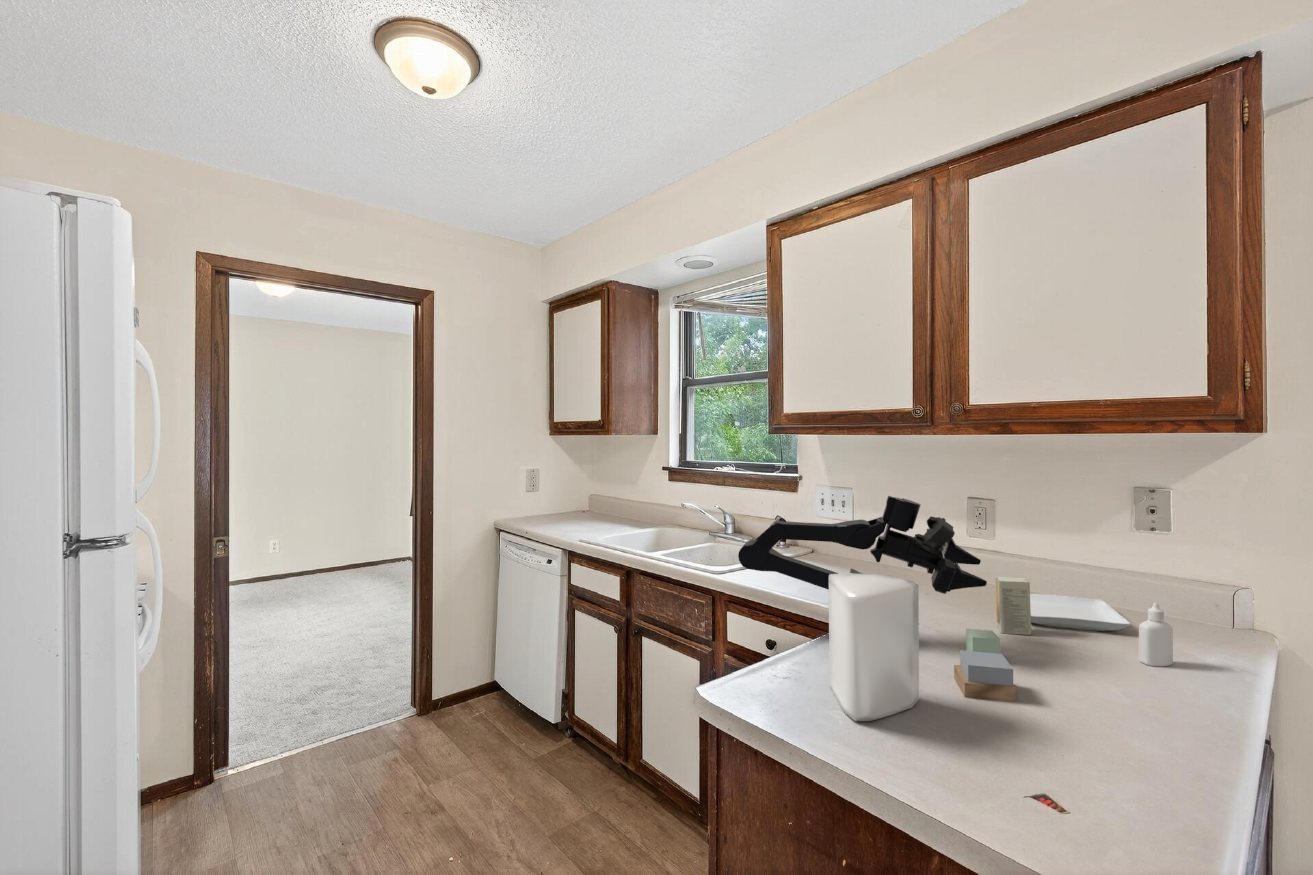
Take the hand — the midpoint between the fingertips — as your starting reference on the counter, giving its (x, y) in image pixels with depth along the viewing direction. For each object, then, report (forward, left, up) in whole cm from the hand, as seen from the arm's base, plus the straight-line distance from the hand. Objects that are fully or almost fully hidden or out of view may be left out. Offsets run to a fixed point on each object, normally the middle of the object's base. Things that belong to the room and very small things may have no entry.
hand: (983, 572), depth 124 cm
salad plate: (+25, +26, -17) cm, 40 cm away
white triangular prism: (-24, -30, -17) cm, 42 cm away
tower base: (-5, -21, -17) cm, 27 cm away
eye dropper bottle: (+31, -1, -17) cm, 35 cm away
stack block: (-1, -5, -16) cm, 17 cm away
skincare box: (+10, +13, -17) cm, 23 cm away
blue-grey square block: (-5, -21, -14) cm, 26 cm away
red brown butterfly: (-7, -55, -17) cm, 58 cm away
